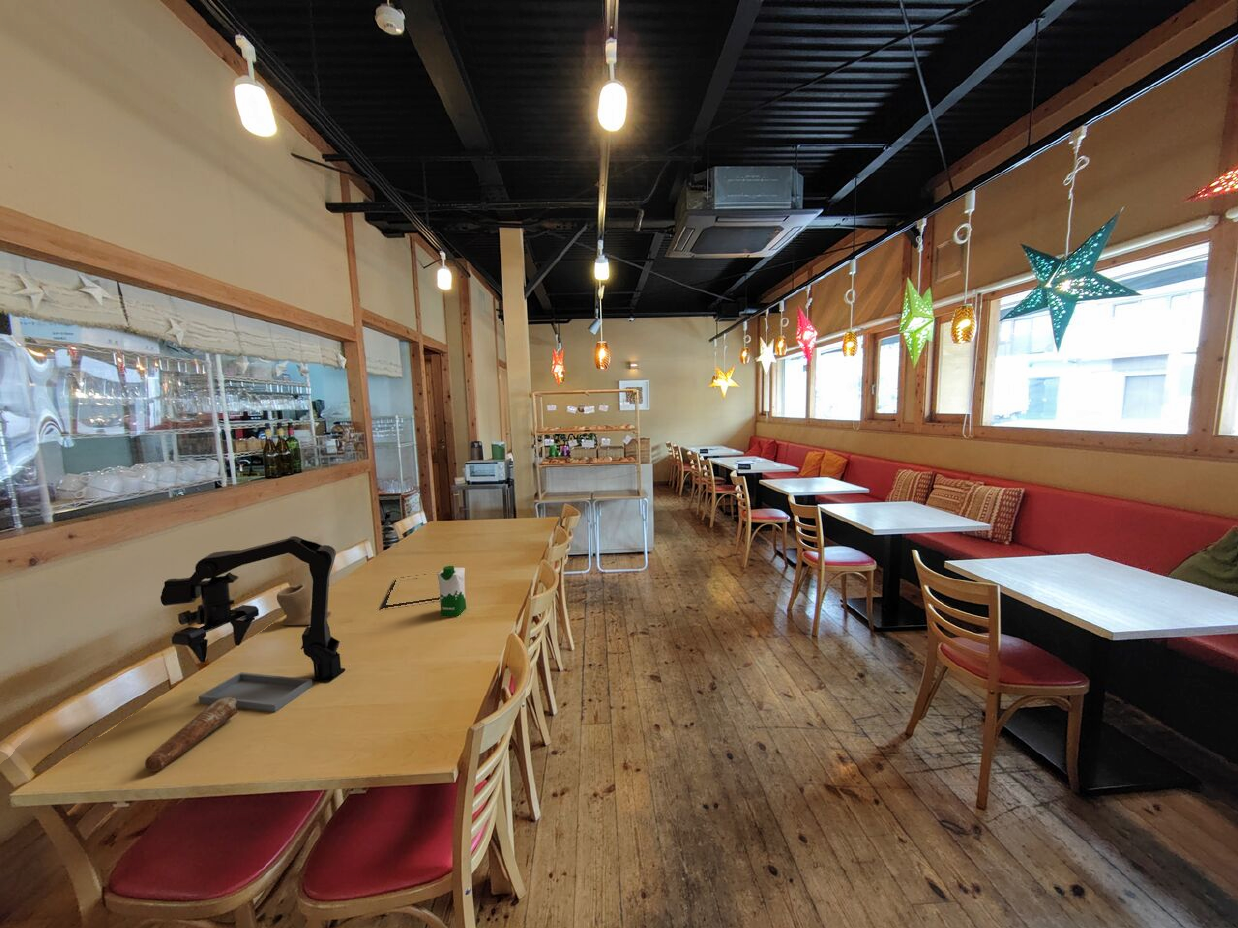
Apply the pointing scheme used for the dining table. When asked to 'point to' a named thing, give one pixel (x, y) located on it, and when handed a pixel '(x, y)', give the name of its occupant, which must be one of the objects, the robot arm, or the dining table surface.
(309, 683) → the serving tray
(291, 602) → the stone cup
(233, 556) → the robot arm
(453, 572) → the milk carton
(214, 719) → the brown tapered rod
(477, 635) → the dining table surface
